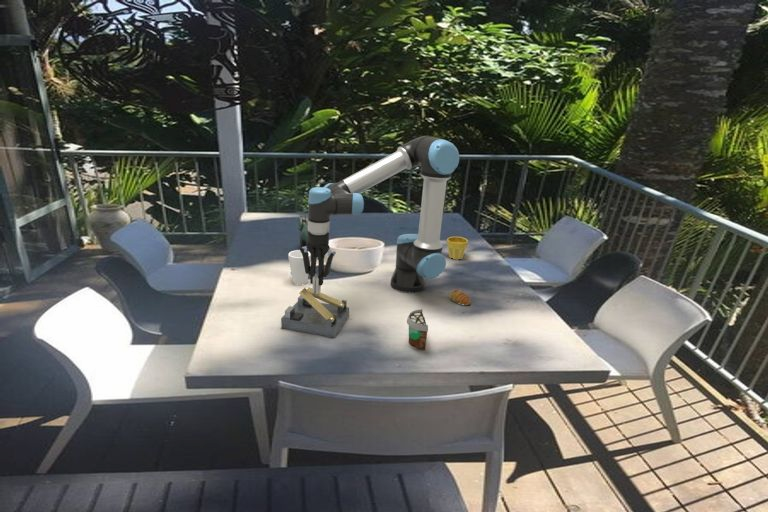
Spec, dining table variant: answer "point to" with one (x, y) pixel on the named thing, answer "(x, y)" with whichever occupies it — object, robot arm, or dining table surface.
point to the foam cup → (298, 267)
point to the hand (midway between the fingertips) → (316, 292)
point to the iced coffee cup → (417, 329)
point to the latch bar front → (316, 304)
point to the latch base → (314, 318)
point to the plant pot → (456, 247)
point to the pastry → (459, 297)
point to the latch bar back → (326, 298)
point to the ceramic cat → (303, 230)
